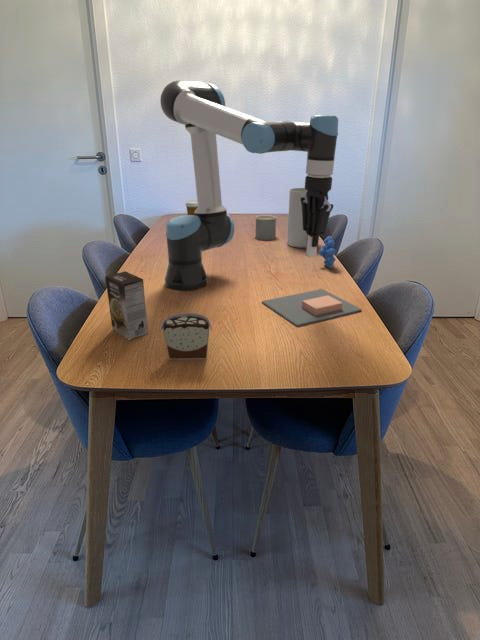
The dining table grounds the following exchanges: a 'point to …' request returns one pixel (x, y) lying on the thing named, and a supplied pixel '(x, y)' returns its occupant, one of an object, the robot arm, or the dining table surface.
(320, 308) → the pink picture frame
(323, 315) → the mat
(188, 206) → the disposable coffee cup
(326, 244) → the blue lumpy piece
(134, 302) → the coffee box
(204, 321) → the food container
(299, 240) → the cylinder vase
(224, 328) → the dining table surface
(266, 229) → the coffee mug
